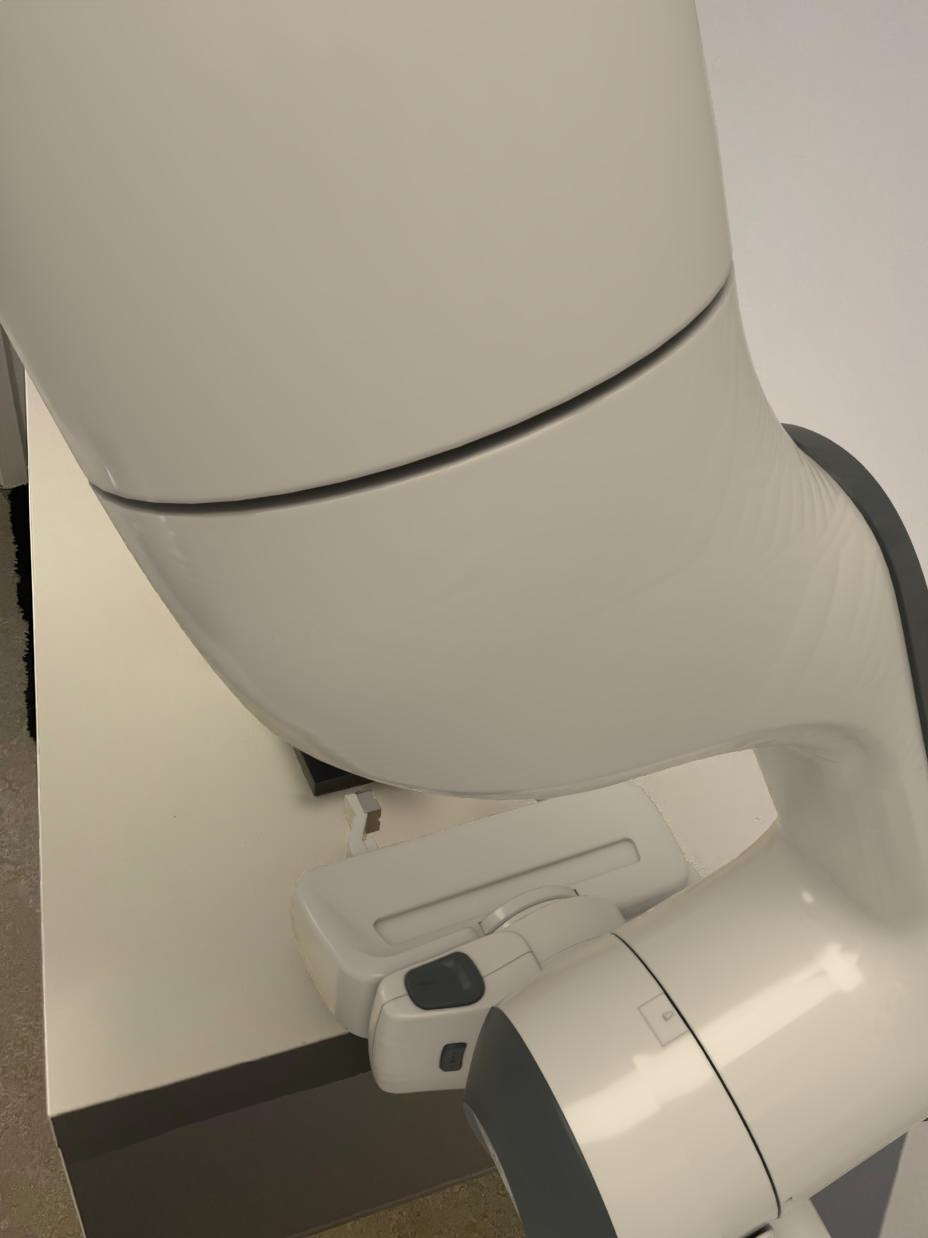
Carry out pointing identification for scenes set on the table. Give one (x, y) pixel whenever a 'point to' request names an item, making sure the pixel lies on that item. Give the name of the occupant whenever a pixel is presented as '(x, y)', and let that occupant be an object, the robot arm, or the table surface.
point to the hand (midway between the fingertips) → (435, 778)
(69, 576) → the table surface
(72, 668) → the table surface
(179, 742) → the table surface
